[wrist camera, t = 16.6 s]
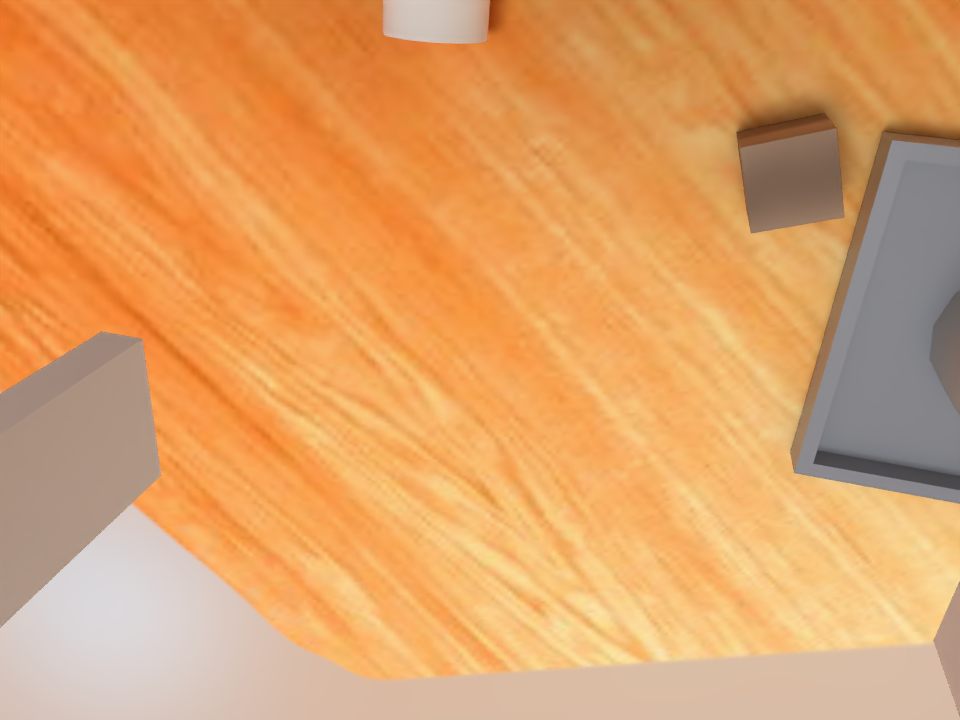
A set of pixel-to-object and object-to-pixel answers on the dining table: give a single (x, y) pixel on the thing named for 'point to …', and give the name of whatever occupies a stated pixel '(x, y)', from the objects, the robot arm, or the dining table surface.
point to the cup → (948, 350)
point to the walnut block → (791, 173)
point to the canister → (437, 20)
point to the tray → (891, 333)
